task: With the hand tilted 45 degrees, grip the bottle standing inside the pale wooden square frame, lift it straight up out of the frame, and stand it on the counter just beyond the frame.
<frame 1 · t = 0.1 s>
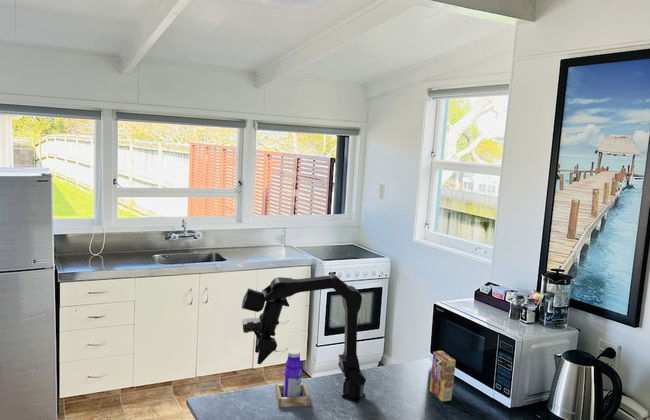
hand: (257, 358, 187), 15 cm above the countertop, tool pointing down, fingers open, 9 cm apart
bottle: (291, 399, 192), resting in wooden square frame
candy box: (440, 396, 201), on the countertop
wooden square frame: (291, 398, 192), on the countertop
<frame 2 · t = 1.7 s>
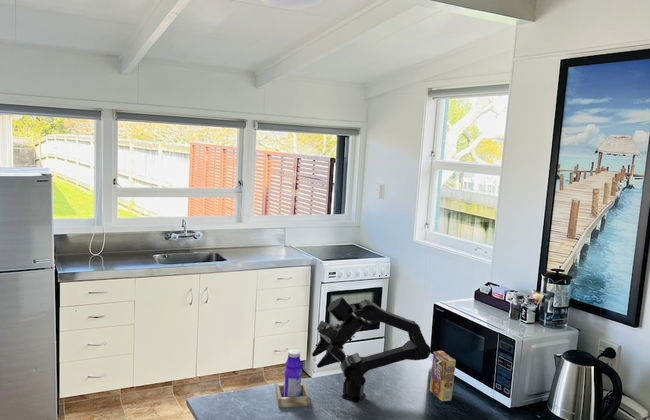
hand: (315, 361, 192), 14 cm above the countertop, tool tilted 45°, fingers open, 9 cm apart
nothing on the countertop moved.
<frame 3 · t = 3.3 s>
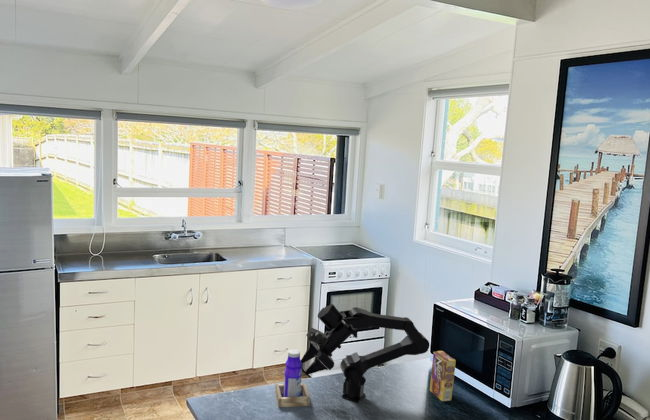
hand: (303, 367, 191), 11 cm above the countertop, tool tilted 45°, fingers open, 9 cm apart
nothing on the countertop moved.
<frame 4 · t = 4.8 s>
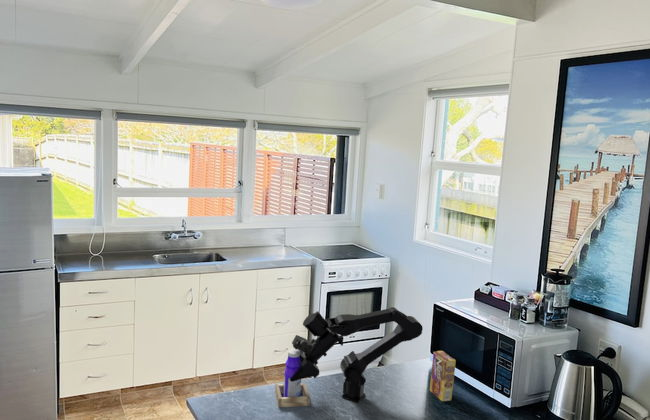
hand: (289, 375, 191), 9 cm above the countertop, tool tilted 45°, fingers closed on bottle, 7 cm apart
bottle: (291, 399, 192), resting in wooden square frame, touching gripper
everything else where it was.
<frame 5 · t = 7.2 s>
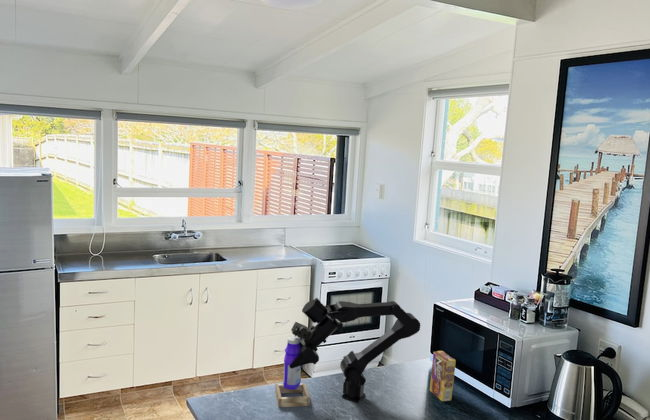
hand: (288, 362, 190), 13 cm above the countertop, tool tilted 45°, fingers closed on bottle, 7 cm apart
bottle: (291, 386, 192), point 5 cm above the countertop, touching gripper
everything else where it was.
when the fingers open (10 cm above the countertop, at t = 9.7 s): bottle drops 1 cm, on the countertop.
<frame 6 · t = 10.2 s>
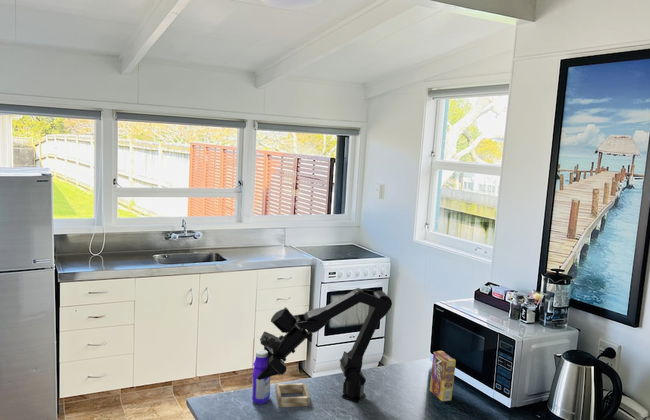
hand: (257, 372, 188), 10 cm above the countertop, tool tilted 45°, fingers open, 9 cm apart
bottle: (260, 400, 190), on the countertop
everything else where it was.
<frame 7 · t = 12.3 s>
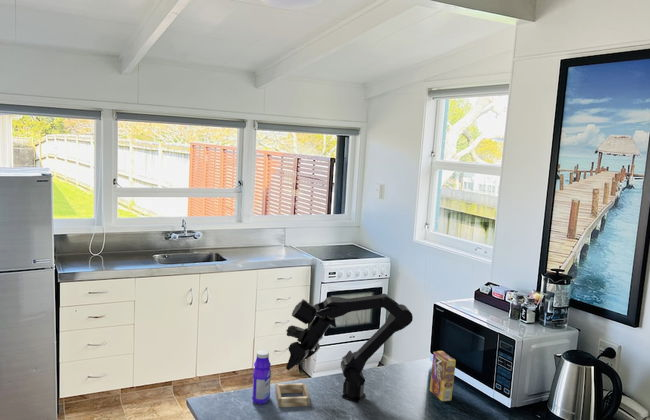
hand: (291, 367, 192), 11 cm above the countertop, tool tilted 30°, fingers open, 9 cm apart
nothing on the countertop moved.
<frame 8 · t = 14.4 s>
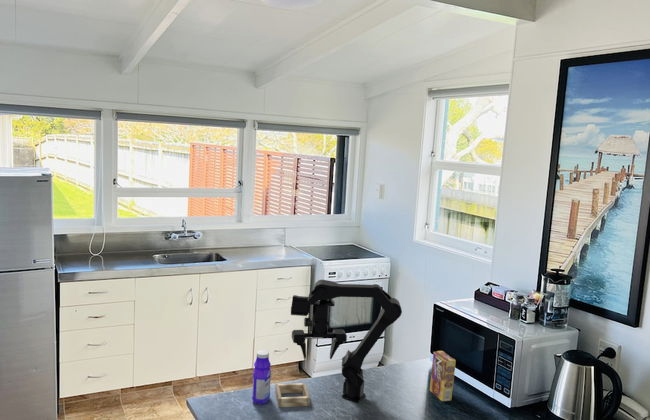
hand: (317, 359, 195), 13 cm above the countertop, tool pointing down, fingers open, 9 cm apart
nothing on the countertop moved.
at the end: bottle 0.3 cm from the target spot on the countertop beside the wooden square frame, on the countertop; bottle tilted 0°; the gripper is holding nothing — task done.
